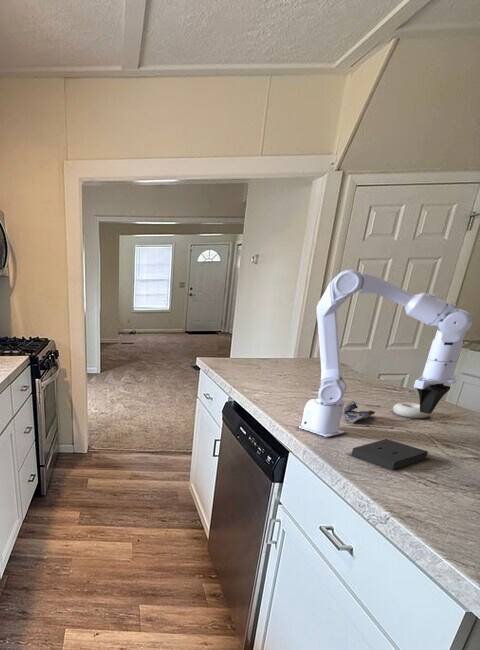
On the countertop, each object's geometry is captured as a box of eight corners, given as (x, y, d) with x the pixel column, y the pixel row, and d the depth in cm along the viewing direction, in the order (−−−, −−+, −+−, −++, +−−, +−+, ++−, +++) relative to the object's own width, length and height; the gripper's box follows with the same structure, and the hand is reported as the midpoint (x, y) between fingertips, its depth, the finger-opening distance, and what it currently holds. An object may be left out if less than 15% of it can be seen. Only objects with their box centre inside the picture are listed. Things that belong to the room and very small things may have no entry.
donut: (385, 410, 138) (401, 418, 129) (388, 400, 137) (404, 408, 127) (418, 411, 136) (436, 420, 127) (420, 401, 135) (439, 409, 126)
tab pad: (363, 451, 105) (365, 444, 104) (384, 445, 108) (386, 438, 108) (405, 465, 96) (407, 458, 96) (425, 458, 100) (428, 451, 99)
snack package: (326, 416, 133) (360, 426, 122) (332, 397, 131) (366, 405, 121) (349, 417, 137) (384, 427, 127) (355, 399, 136) (391, 407, 126)
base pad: (351, 455, 103) (352, 448, 102) (368, 450, 106) (369, 443, 105) (392, 470, 94) (394, 462, 94) (409, 464, 97) (411, 456, 96)
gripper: (444, 365, 93) (427, 420, 98) (476, 359, 99) (458, 412, 104) (411, 360, 99) (396, 413, 104) (443, 355, 105) (427, 405, 110)
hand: (425, 412), depth 104 cm, fingers closed
